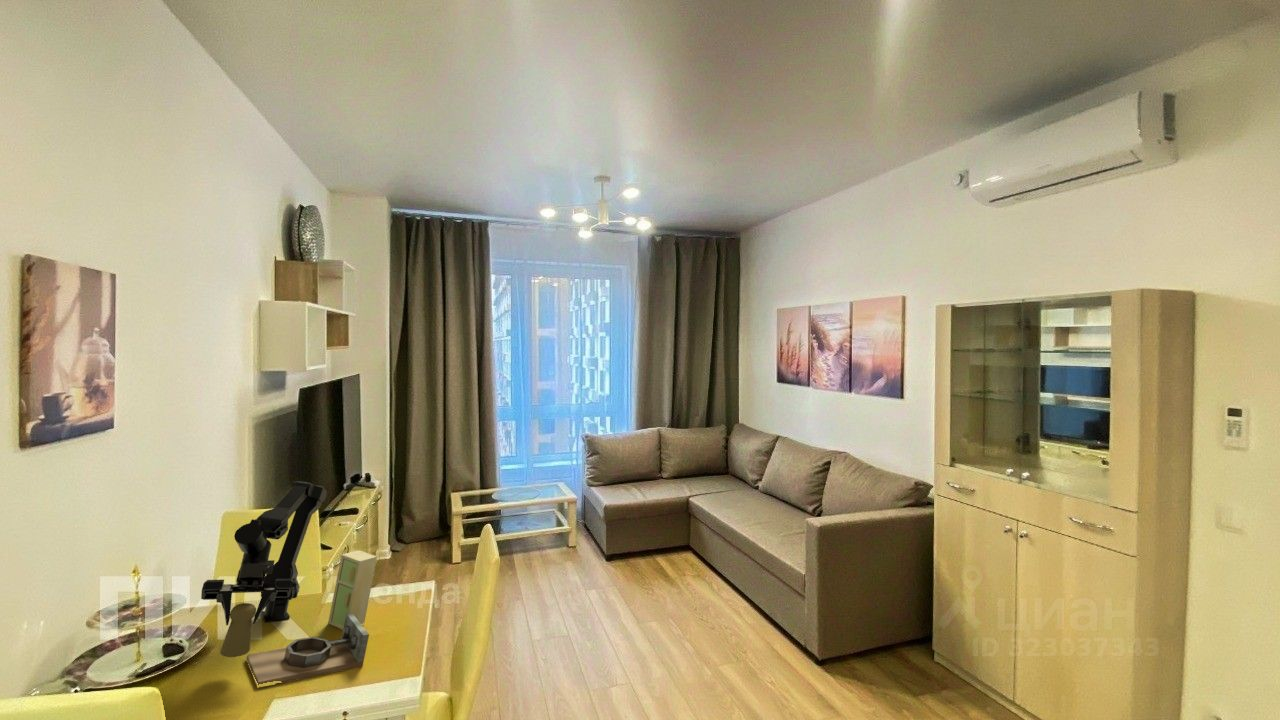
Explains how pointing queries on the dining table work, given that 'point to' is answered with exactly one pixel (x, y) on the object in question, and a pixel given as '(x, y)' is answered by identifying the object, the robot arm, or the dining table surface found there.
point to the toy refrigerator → (352, 587)
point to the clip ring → (317, 645)
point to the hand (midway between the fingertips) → (240, 624)
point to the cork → (239, 631)
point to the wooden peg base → (340, 658)
